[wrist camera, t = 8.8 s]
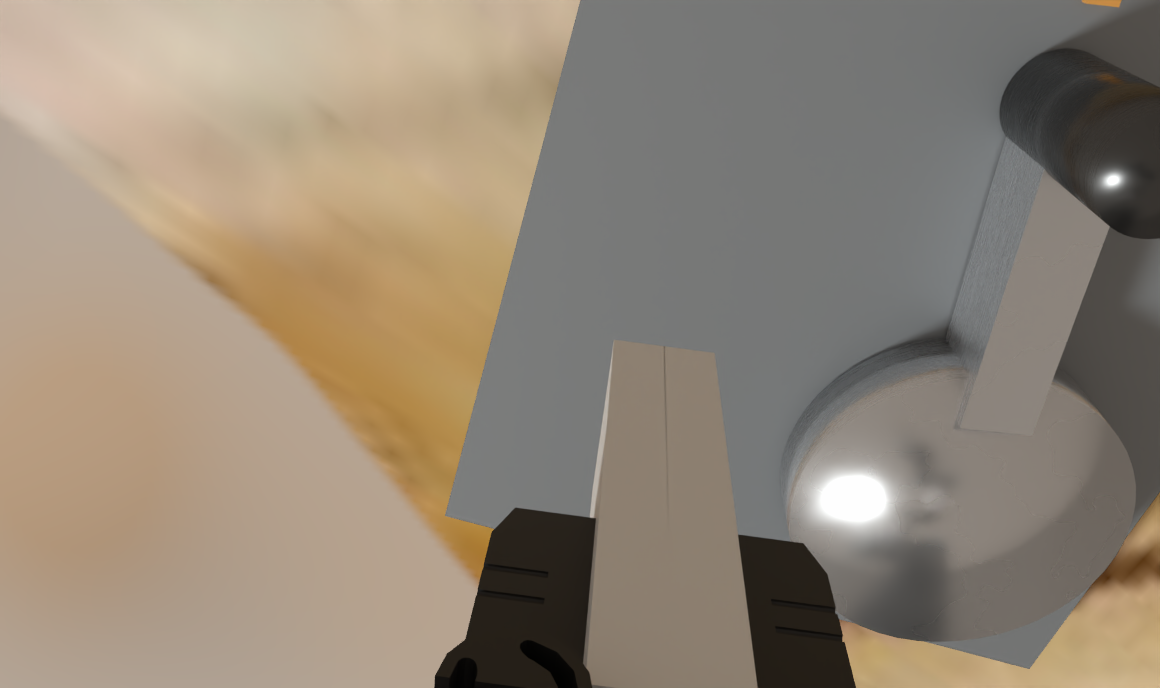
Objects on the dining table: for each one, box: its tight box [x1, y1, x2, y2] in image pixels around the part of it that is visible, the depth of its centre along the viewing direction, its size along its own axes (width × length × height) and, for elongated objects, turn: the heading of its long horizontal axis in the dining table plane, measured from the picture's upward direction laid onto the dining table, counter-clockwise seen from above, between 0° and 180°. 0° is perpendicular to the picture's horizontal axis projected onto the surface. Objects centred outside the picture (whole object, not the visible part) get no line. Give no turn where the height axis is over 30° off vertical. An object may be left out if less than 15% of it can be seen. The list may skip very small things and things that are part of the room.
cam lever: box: [780, 48, 1160, 642], centre depth 25 cm, size 18×10×6 cm, turn 176°
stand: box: [445, 0, 1160, 669], centre depth 28 cm, size 25×22×2 cm
